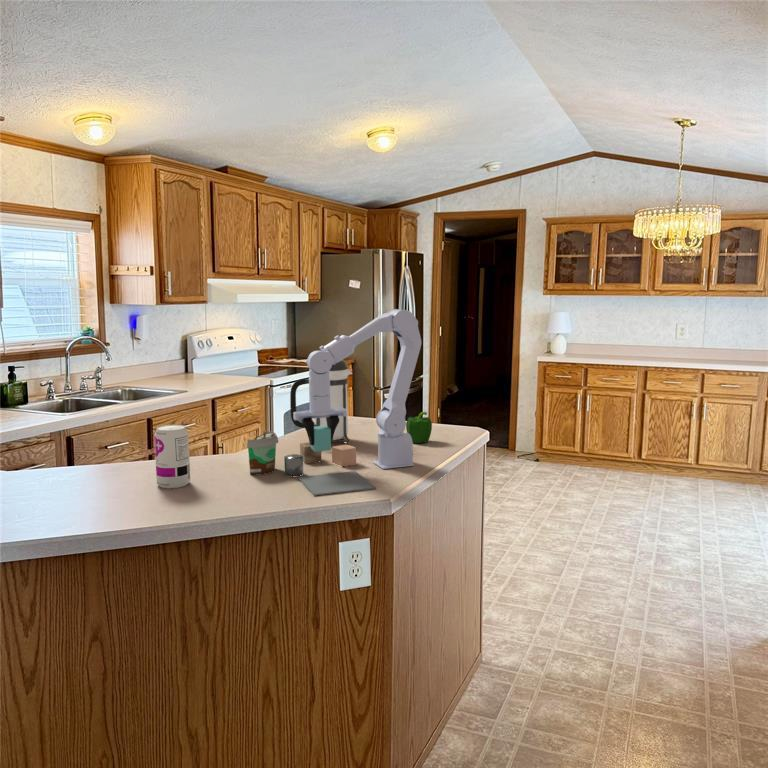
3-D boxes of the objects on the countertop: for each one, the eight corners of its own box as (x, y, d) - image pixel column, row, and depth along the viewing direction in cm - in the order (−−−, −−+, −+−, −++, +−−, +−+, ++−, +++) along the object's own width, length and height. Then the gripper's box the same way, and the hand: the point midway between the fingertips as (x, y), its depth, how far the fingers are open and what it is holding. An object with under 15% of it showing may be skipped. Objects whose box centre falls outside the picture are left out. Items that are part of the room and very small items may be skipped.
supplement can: (160, 491, 167) (157, 432, 165) (154, 482, 174) (151, 426, 172) (193, 486, 170) (190, 428, 168) (186, 478, 178) (184, 423, 176)
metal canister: (301, 471, 184) (301, 453, 183) (304, 476, 179) (304, 458, 179) (283, 472, 183) (283, 455, 182) (286, 478, 178) (285, 459, 177)
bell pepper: (402, 443, 216) (402, 413, 215) (411, 438, 224) (411, 409, 222) (426, 445, 213) (427, 415, 212) (435, 440, 221) (435, 410, 219)
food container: (269, 477, 178) (268, 441, 177) (248, 476, 179) (246, 440, 178) (285, 465, 190) (284, 431, 189) (265, 464, 191) (264, 430, 190)
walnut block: (316, 458, 199) (316, 441, 198) (321, 462, 194) (321, 445, 193) (300, 459, 197) (300, 443, 196) (304, 464, 192) (304, 447, 191)
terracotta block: (346, 461, 195) (346, 444, 194) (356, 464, 191) (356, 447, 190) (332, 463, 192) (332, 446, 192) (341, 467, 188) (341, 450, 188)
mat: (355, 472, 182) (355, 470, 182) (375, 489, 168) (375, 487, 168) (298, 478, 177) (298, 477, 177) (314, 496, 162) (313, 494, 162)
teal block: (326, 446, 187) (326, 425, 186) (331, 450, 183) (330, 428, 182) (310, 448, 186) (310, 426, 185) (315, 451, 181) (314, 430, 181)
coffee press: (324, 433, 231) (323, 347, 227) (361, 439, 222) (360, 349, 218) (289, 443, 217) (287, 351, 213) (327, 450, 208) (325, 354, 204)
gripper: (340, 391, 188) (341, 438, 190) (290, 394, 183) (291, 442, 185) (348, 394, 182) (349, 443, 184) (296, 398, 177) (297, 448, 179)
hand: (320, 443), depth 184 cm, fingers closed on teal block, 4 cm apart
